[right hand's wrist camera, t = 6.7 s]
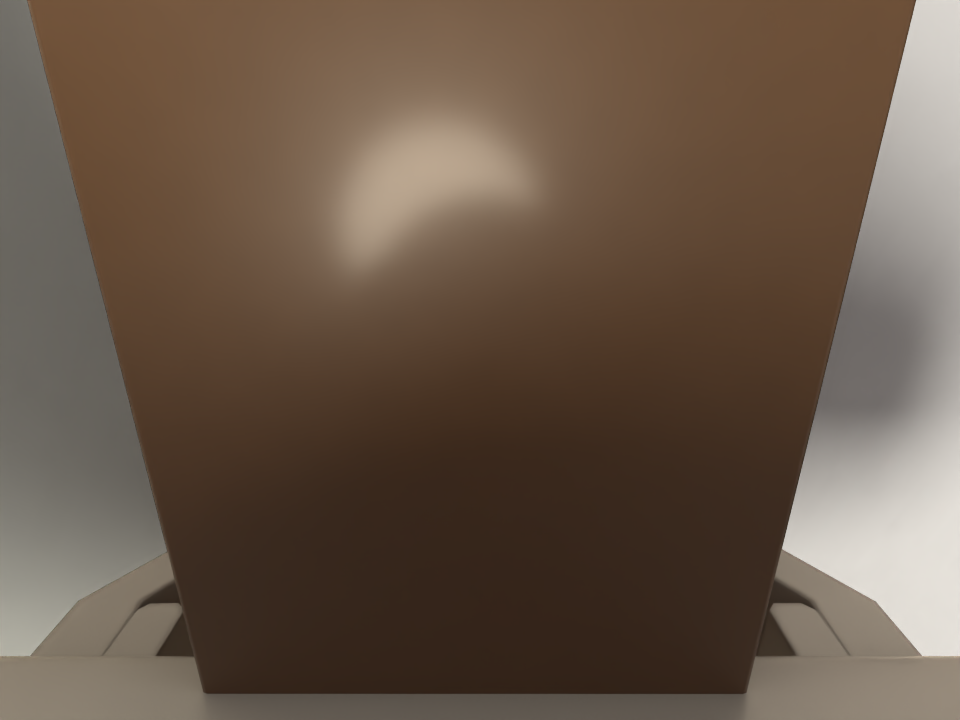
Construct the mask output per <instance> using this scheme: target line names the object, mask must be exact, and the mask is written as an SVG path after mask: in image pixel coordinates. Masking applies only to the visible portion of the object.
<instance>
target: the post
mask: <svg viewBox="0 0 960 720" xmlns="http://www.w3.org/2000/svg"><path fill="white" fill-rule="evenodd" d="M27 2H28V6H29V10H30V13H31V17H32V21H33V25H34V29H35V33H36V37H37V41H38V45H39V49H40V53H41V57H42V61H43V65H44V68H45V72H46V76H47V80H48V84H49V88H50V92H51V96H52V100H53V104H54V108H55V112H56V116H57V120H58V124H59V127H60V131H61V135H62V139H63V143H64V147H65V151H66V155H67V159H68V163H69V167H70V171H71V175H72V179H73V182H74V186H75V190H76V194H77V198H78V202H79V206H80V210H81V214H82V218H83V222H84V226H85V230H86V234H87V237H88V241H89V245H90V249H91V253H92V257H93V261H94V265H95V269H96V273H97V277H98V281H99V285H100V289H101V292H102V296H103V300H104V304H105V308H106V312H107V316H108V320H109V324H110V328H111V332H112V336H113V340H114V344H115V347H116V351H117V355H118V359H119V363H120V367H121V371H122V375H123V379H124V383H125V387H126V391H127V395H128V399H129V402H130V406H131V410H132V414H133V418H134V422H135V426H136V430H137V434H138V438H139V442H140V446H141V450H142V454H143V458H144V461H145V465H146V469H147V473H148V477H149V481H150V485H151V489H152V493H153V497H154V501H155V505H156V509H157V513H158V516H159V520H160V524H161V528H162V532H163V536H164V540H165V544H166V548H167V552H168V556H169V560H170V564H171V568H172V571H173V575H174V579H175V583H176V587H177V591H178V595H179V599H180V603H181V607H182V611H183V615H184V619H185V623H186V626H187V630H188V634H189V638H190V642H191V646H192V650H193V654H194V658H195V662H196V666H197V670H198V674H199V678H200V681H201V685H202V689H203V692H204V693H206V694H744V693H747V689H748V685H749V680H750V676H751V672H752V668H753V664H754V660H755V656H756V652H757V648H758V644H759V640H760V636H761V631H762V627H763V623H764V619H765V615H766V611H767V607H768V603H769V599H770V595H771V591H772V586H773V582H774V578H775V574H776V570H777V566H778V562H779V558H780V554H781V550H782V546H783V542H784V537H785V533H786V529H787V525H788V521H789V517H790V513H791V509H792V505H793V501H794V497H795V493H796V488H797V484H798V480H799V476H800V472H801V468H802V464H803V460H804V456H805V452H806V448H807V444H808V439H809V435H810V431H811V427H812V423H813V419H814V415H815V411H816V407H817V403H818V399H819V394H820V390H821V386H822V382H823V378H824V374H825V370H826V366H827V362H828V358H829V354H830V350H831V345H832V341H833V337H834V333H835V329H836V325H837V321H838V317H839V313H840V309H841V305H842V301H843V296H844V292H845V288H846V284H847V280H848V276H849V272H850V268H851V264H852V260H853V256H854V251H855V247H856V243H857V239H858V235H859V231H860V227H861V223H862V219H863V215H864V211H865V207H866V202H867V198H868V194H869V190H870V186H871V182H872V178H873V174H874V170H875V166H876V162H877V158H878V153H879V149H880V145H881V141H882V137H883V133H884V129H885V125H886V121H887V117H888V113H889V108H890V104H891V100H892V96H893V92H894V88H895V84H896V80H897V76H898V72H899V68H900V64H901V59H902V55H903V51H904V47H905V43H906V39H907V35H908V31H909V27H910V23H911V19H912V15H913V10H914V6H915V2H916V0H27Z"/></svg>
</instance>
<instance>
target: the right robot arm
mask: <svg viewBox="0 0 960 720" xmlns="http://www.w3.org/2000/svg"><path fill="white" fill-rule="evenodd" d="M0 720H960V656H922V655H921V654H920V653H919V652H918V651H917V649H916V648H915V647H914V646H913V645H912V644H911V642H910V641H909V640H908V639H907V638H906V637H905V635H904V634H903V633H902V632H901V631H900V630H899V628H898V627H897V626H896V625H895V624H894V622H893V621H892V620H891V619H890V618H889V617H888V615H887V614H886V613H885V612H884V611H883V610H882V608H881V607H880V606H879V605H878V604H877V603H876V602H875V601H874V600H872V599H870V598H868V597H866V596H865V595H863V594H861V593H859V592H857V591H856V590H854V589H852V588H850V587H849V586H847V585H845V584H843V583H841V582H840V581H838V580H836V579H834V578H832V577H831V576H829V575H827V574H825V573H823V572H822V571H820V570H818V569H816V568H815V567H813V566H811V565H809V564H807V563H806V562H804V561H802V560H800V559H798V558H797V557H795V556H793V555H791V554H789V553H788V552H786V551H784V550H781V554H780V558H779V562H778V566H777V570H776V574H775V578H774V582H773V586H772V591H771V595H770V599H769V603H768V607H767V611H766V615H765V619H764V623H763V627H762V631H761V636H760V640H759V644H758V648H757V652H756V656H755V660H754V664H753V668H752V672H751V676H750V680H749V685H748V689H747V693H744V694H206V693H204V692H203V689H202V685H201V681H200V678H199V674H198V670H197V666H196V662H195V658H194V654H193V650H192V646H191V642H190V638H189V634H188V630H187V626H186V623H185V619H184V615H183V611H182V607H181V603H180V599H179V595H178V591H177V587H176V583H175V579H174V575H173V571H172V568H171V564H170V560H169V556H168V552H166V553H164V554H162V555H161V556H159V557H157V558H155V559H153V560H152V561H150V562H148V563H146V564H144V565H142V566H141V567H139V568H137V569H135V570H133V571H132V572H130V573H128V574H126V575H124V576H123V577H121V578H119V579H117V580H115V581H113V582H112V583H110V584H108V585H106V586H104V587H103V588H101V589H99V590H97V591H95V592H94V593H92V594H90V595H88V596H86V597H84V598H83V599H81V600H79V601H78V602H77V603H76V604H75V605H74V606H73V608H72V609H71V610H70V611H69V612H68V613H67V614H66V616H65V617H64V618H63V619H62V620H61V621H60V622H59V624H58V625H57V626H56V627H55V628H54V629H53V630H52V632H51V633H50V634H49V635H48V636H47V637H46V638H45V640H44V641H43V642H42V643H41V644H40V645H39V646H38V648H37V649H36V650H35V651H34V652H33V653H32V654H31V656H0Z"/></svg>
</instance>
